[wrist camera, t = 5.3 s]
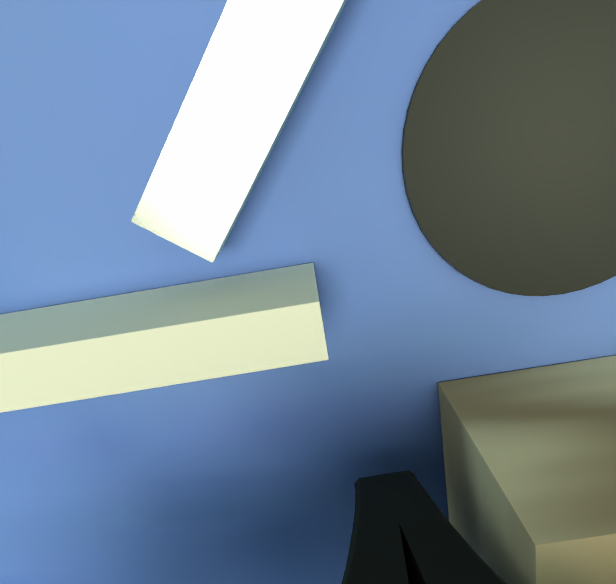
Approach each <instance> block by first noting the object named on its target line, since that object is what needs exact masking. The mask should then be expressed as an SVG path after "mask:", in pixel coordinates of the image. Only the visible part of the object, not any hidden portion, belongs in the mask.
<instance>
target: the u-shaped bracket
mask: <svg viewBox="0 0 616 584" xmlns="http://www.w3.org/2000/svg"><path fill="white" fill-rule="evenodd" d="M324 360H329V358H328V352H327V346H326V339H325V333H324V326H323V320H322V313H321V307H320V301H319V295H318V289H317V283H316V277H315V271H314V265H313V263H307V264H301V265H295V266H289V267H283V268H277V269H271V270H265V271H259V272H253V273H247V274H241V275H235V276H229V277H223V278H217V279H211V280H205V281H199V282H193V283H187V284H181V285H175V286H169V287H163V288H157V289H151V290H145V291H139V292H133V293H126V294H120V295H114V296H108V297H102V298H96V299H90V300H84V301H78V302H72V303H66V304H60V305H54V306H48V307H42V308H36V309H30V310H24V311H18V312H12V313H6V314H0V412H7V411H13V410H19V409H25V408H32V407H38V406H44V405H50V404H56V403H63V402H69V401H75V400H81V399H88V398H94V397H100V396H106V395H112V394H119V393H125V392H131V391H137V390H144V389H150V388H156V387H162V386H168V385H175V384H181V383H187V382H193V381H199V380H206V379H212V378H218V377H224V376H231V375H237V374H243V373H249V372H255V371H262V370H268V369H274V368H280V367H287V366H293V365H299V364H305V363H311V362H318V361H324Z"/></svg>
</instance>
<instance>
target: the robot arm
mask: <svg viewBox="0 0 616 584" xmlns="http://www.w3.org/2000/svg"><path fill="white" fill-rule="evenodd" d="M342 584H506V583H505V582H504V581H503V580H502V579H501V578H500V577H499V576H498V575H497V574H496V573H495V572H494V571H493V570H492V569H491V568H490V567H489V566H488V565H487V564H486V563H485V562H484V561H483V560H482V558H481V557H480V556H479V555H478V554H477V553H476V552H475V551H474V550H473V549H472V548H471V546H470V545H469V544H468V543H467V542H466V541H465V539H464V538H463V537H462V536H461V535H460V534H459V533H458V531H457V530H456V529H455V528H454V527H453V526H452V524H451V523H450V522H449V521H448V520H447V518H446V517H445V516H444V515H443V513H442V512H441V511H440V510H439V508H438V507H437V506H436V504H435V503H434V502H433V501H432V499H431V498H430V496H429V495H428V494H427V492H426V491H425V490H424V488H423V487H422V485H421V484H420V482H419V481H418V479H417V477H416V476H415V474H413V473H412V472H411V471H402V472H396V473H389V474H383V475H377V476H370V477H364V478H359V479H358V480H357V481H356V482H355V515H354V523H353V531H352V537H351V542H350V548H349V554H348V559H347V564H346V569H345V573H344V577H343V581H342Z"/></svg>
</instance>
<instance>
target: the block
mask: <svg viewBox="0 0 616 584" xmlns="http://www.w3.org/2000/svg"><path fill="white" fill-rule="evenodd" d="M438 391H439V403H440V415H441V428H442V440H443V452H444V465H445V477H446V489H447V501H448V514H449V522H450V523H451V524H452V526H453V527H454V528H455V529H456V530H457V531H458V533H459V534H460V535H461V536H462V537H463V538H464V539H465V541H466V542H467V543H468V544H469V545H470V546H471V548H472V549H473V550H474V551H475V552H476V553H477V554H478V555H479V556H480V557H481V558H482V560H483V561H484V562H485V563H486V564H487V565H488V566H489V567H490V568H491V569H492V570H493V571H494V572H495V573H496V574H497V575H498V576H499V577H500V578H501V579H502V580H503V581H504V582H505V583H506V584H616V355H615V356H608V357H602V358H595V359H589V360H582V361H576V362H569V363H563V364H556V365H550V366H543V367H537V368H530V369H524V370H517V371H511V372H504V373H497V374H491V375H484V376H478V377H471V378H465V379H458V380H452V381H445V382H439V383H438Z"/></svg>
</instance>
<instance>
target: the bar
mask: <svg viewBox="0 0 616 584" xmlns="http://www.w3.org/2000/svg"><path fill="white" fill-rule="evenodd" d="M346 2H347V0H228V2H227V4H226V6H225V9H224V11H223V13H222V16H221V18H220V20H219V22H218V25H217V27H216V29H215V31H214V34H213V36H212V38H211V41H210V43H209V45H208V47H207V50H206V52H205V54H204V57H203V59H202V61H201V63H200V66H199V68H198V70H197V73H196V75H195V77H194V79H193V82H192V84H191V86H190V89H189V91H188V93H187V95H186V98H185V100H184V102H183V105H182V107H181V109H180V111H179V114H178V116H177V118H176V120H175V123H174V125H173V127H172V130H171V132H170V134H169V136H168V139H167V141H166V143H165V146H164V148H163V150H162V152H161V155H160V157H159V159H158V162H157V164H156V166H155V168H154V171H153V173H152V175H151V178H150V180H149V182H148V184H147V187H146V189H145V191H144V194H143V196H142V198H141V200H140V203H139V205H138V207H137V209H136V212H135V214H134V216H133V219H132V221H131V222H133V223H135V224H137V225H139V226H141V227H143V228H145V229H147V230H149V231H151V232H153V233H155V234H157V235H159V236H161V237H163V238H165V239H167V240H169V241H171V242H173V243H175V244H177V245H179V246H181V247H183V248H185V249H187V250H188V251H190V252H192V253H194V254H196V255H198V256H200V257H202V258H204V259H206V260H208V261H210V262H212V263H213V261H214V260H215V258H216V257H217V256H218V254H219V253H220V251H221V250H222V248H223V247H224V245H225V244H226V242H227V240H228V238H229V236H230V234H231V232H232V230H233V228H234V226H235V224H236V222H237V220H238V218H239V216H240V214H241V212H242V210H243V208H244V206H245V204H246V202H247V200H248V198H249V196H250V194H251V192H252V190H253V188H254V186H255V184H256V182H257V180H258V178H259V176H260V174H261V172H262V170H263V168H264V166H265V164H266V162H267V160H268V158H269V156H270V154H271V152H272V150H273V148H274V146H275V144H276V142H277V140H278V138H279V136H280V134H281V132H282V130H283V128H284V126H285V124H286V122H287V120H288V118H289V116H290V114H291V112H292V110H293V108H294V106H295V104H296V102H297V100H298V98H299V96H300V94H301V92H302V90H303V88H304V86H305V84H306V82H307V80H308V78H309V76H310V74H311V72H312V70H313V68H314V66H315V64H316V62H317V60H318V58H319V56H320V54H321V52H322V50H323V48H324V46H325V44H326V42H327V40H328V38H329V36H330V34H331V32H332V30H333V28H334V26H335V24H336V22H337V20H338V18H339V16H340V14H341V12H342V10H343V8H344V6H345V4H346Z"/></svg>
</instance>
